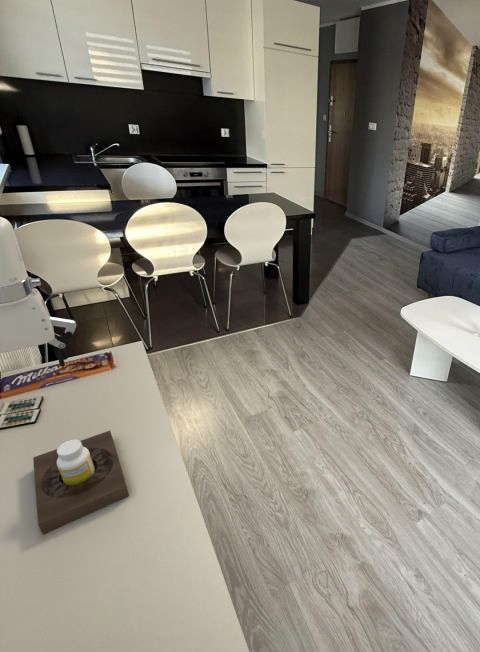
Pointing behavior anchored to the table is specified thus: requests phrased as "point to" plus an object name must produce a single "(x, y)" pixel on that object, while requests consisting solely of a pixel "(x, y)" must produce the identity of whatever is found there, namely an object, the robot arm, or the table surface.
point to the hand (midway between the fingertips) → (31, 370)
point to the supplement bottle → (74, 462)
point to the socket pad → (78, 485)
